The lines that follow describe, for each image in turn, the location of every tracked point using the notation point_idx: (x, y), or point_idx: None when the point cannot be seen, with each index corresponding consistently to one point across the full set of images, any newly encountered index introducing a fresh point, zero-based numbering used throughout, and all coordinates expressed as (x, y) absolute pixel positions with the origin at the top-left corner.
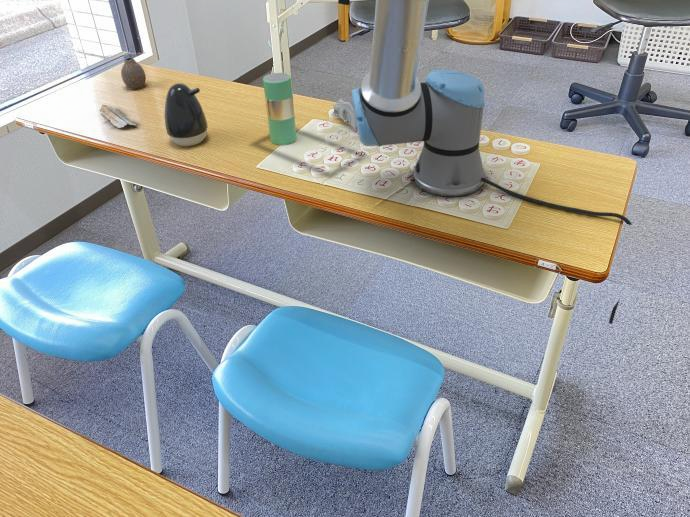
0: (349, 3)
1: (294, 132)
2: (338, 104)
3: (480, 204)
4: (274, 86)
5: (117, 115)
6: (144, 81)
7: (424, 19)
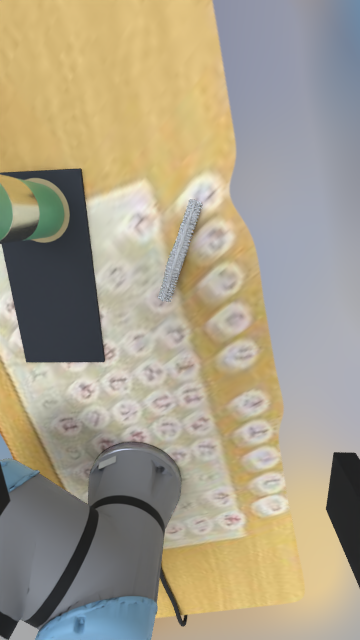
0: (5, 504)
1: (42, 237)
2: (198, 208)
3: None
4: None
5: None
6: None
7: None
